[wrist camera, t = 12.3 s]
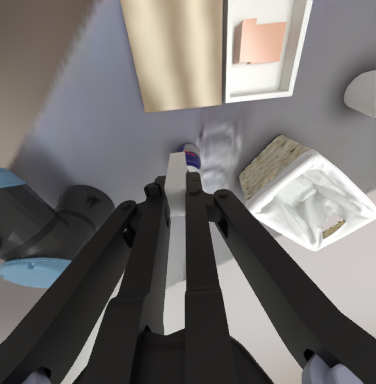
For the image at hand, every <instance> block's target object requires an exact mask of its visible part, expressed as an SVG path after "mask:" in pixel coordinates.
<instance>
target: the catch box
mask: <svg viewBox="0 0 376 384" xmlns="http://www.w3.org/2000/svg"><path fill="white" fill-rule="evenodd" d="M312 2H313V0H223V50H222V101H224V102H225V103H230V102H239V101H249V100H258V99H267V98H276V97H286V96H292V93H293V88H294V84H295V79H296V74H297V70H298V65H299V61H300V56H301V52H302V47H303V43H304V38H305V34H306V29H307V25H308V20H309V16H310V11H311V7H312ZM252 18H257V23H256V25H259V24H268V23H278V22H287V24H286V29H285V35H284V40H283V45H282V51H281V56H280V61H279V62H270V63H260V64H249V65H247V63H242V64H233V56H234V40H235V27H236V26H237V25H238V24H239V23H240V22H241V21H242V20H243V19H252Z"/></svg>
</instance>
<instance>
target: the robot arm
mask: <svg viewBox="0 0 376 384" xmlns="http://www.w3.org/2000/svg"><path fill="white" fill-rule="evenodd" d="M144 191H145V194H146V197H147V198H146V201H144V202H142V203H139V204H136V202H135V201H133V200H128V201H124V202H123V203H121V204H120V205H119V206H118V207H117V208H116V209H115V208H114V205H113V203H112V201H111V200H110V198H109V197H108V196H107V195H105V194H104V193H103V192H101V191H100V190H98V189H95V188H93V187H89V186H84V185H77V186H73V187H70V188H68V189H67V190H66V191H65V192H64V193H63V194H62V195H61V196H60V198H59V201H58V205H57V207H56V209H55V210H54V209H52V208H51V207H50V206H49V205H48V204H47V203H46V202H45V201H44V200H43V199H42V198H41V197H39V196H38V195H37V194H36V193H35V192H34V191H33V190H32V189H31V188H30V187H29V186H28V185H27V183H26V182H23V181H22V180H21V179H19V178H18V177H17V176H16V175H15V174H13V173H12V172H11V171H10V170H8V169H5V168H0V259H2V260H3V261H4V262H3V263H2V264H1V265H0V275H1V277H2V278H4V279H6V280H8V281H10V282H13V283H16V284H19V285H23V286H29V287H37V288H49V289H48V290H47V291H46V292H45V294H44V295H43V296H42V297H41V298H40V299H39V301H38V302H37V303H36V304H35V305H34V307H33V308H32V309H31V310H30V311H29V313H28V314H27V315H26V316H25V317H24V318H23V320H22V321H21V322H20V323H19V324H18V326H17V327H16V328H15V329H14V330H13V332H12V333H11V334H10V335H9V336H8V337H7V339H6V340H4V341H3V342H2V343H1V344H0V384H60V383H61V382H62V381H63V379H64V378H65V376H66V375H67V373H68V371H69V370H70V368H71V367H72V366H73V364H74V362H75V360H76V359H77V357H78V355H79V354H80V352H81V350H82V348H83V346H84V345H85V343H86V341H87V339H88V337H89V335H90V334H91V332H92V330H93V328H94V326H95V324H96V322H97V320H98V319H99V317H100V315H101V313H102V311H103V309H104V308H105V306H106V304H107V302H108V300H109V298H110V296H111V295H112V293H113V291H114V289H115V287H116V285H117V283H118V282H119V280H120V278H121V276H122V274H123V272H124V270H125V272H124V276H123V279H122V282H121V286H120V289H119V292H118V295H117V296H116V297H114V298H112V299H111V300H110V301H109V303H108V305H107V308H106V310H105V313H104V317H103V319H102V322H101V325H100V328H99V331H98V334H97V337H96V340H95V344H94V346H93V349H92V353H91V355H90V358H89V361H88V364H87V366H86V367H85V368H84V370H83V371H82V372H81V373H80V375H79V376H78V377H77V378H76V380H75V381H74V382H73V383H72V384H274V383H273V381H272V380H271V379H270V378H269V377H268V375H267V374H266V373H265V372H264V370H263V369H262V368H261V367H260V365H259V364H258V363H257V362H256V360H255V359H254V358H253V357H252V356H251V354H250V353H249V352H248V351H247V350H246V348H245V347H244V346H242V344H241V343H239V342H238V341H237V340H235V339H234V338H233V337H231V336H230V335H229V329H228V324H227V318H226V313H225V307H224V301H223V296H222V292H221V288H220V285H219V279H218V274H217V268H216V262H215V256H214V250H213V245H212V239H211V233H210V227H209V222H208V221H210V222H215V225H216V227H217V228H218V230H219V232H220V233H221V235H222V237H223V239H224V240H225V242H226V244H227V246H228V247H229V249H230V251H231V253H232V254H233V256H234V258H235V260H236V261H237V263H238V265H239V266H240V268H241V270H242V272H243V273H244V275H245V277H246V279H247V280H248V282H249V284H250V286H251V287H252V289H253V291H254V293H255V294H256V296H257V298H258V299H259V301H260V303H261V305H262V306H263V308H264V310H265V311H266V313H267V315H268V317H269V319H270V320H271V322H272V324H273V326H274V327H275V329H276V331H277V332H278V334H279V336H280V337H281V339H282V341H283V342H284V344H285V345H286V347H287V349H288V350H289V352H290V353H291V354H292V356H293V357H294V358H295V360H296V361H297V362H298V364H299V365H300V366H301V368H302V369H303V372H302V384H376V339H375V338H374V337H373V336H371V335H370V334H369V333H367V332H366V331H365V330H363V329H362V328H361V327H359V326H358V325H357V324H356V323H354V322H353V321H352V320H350V319H349V318H348V317H346V316H345V315H344V314H342V313H341V312H340V311H339V310H338V309H337V308H336V306H335V305H334V304H333V303H332V302H331V301H330V300H329V299H328V298H327V297H326V296H325V294H324V293H323V292H322V291H321V290H320V289H319V288H318V287H317V285H316V284H315V283H314V282H313V281H312V280H311V279H310V278H309V277H308V276H307V274H306V273H305V272H304V271H303V270H302V269H301V268H300V267H299V266H298V264H297V263H296V262H295V261H294V260H293V259H292V258H291V257H290V256H289V255H288V253H286V251H285V250H284V249H283V248H282V247H281V246H280V245H279V244H278V242H277V241H276V240H275V239H274V238H273V237H272V236H271V235H270V234H269V232H268V231H267V230H266V229H265V228H264V227H263V226H262V225H261V224H260V222H259V221H258V220H257V219H256V218H255V217H254V216H253V215H252V214H251V213H250V211H249V210H248V209H247V208H246V207H245V206H244V205H243V204H242V203H241V201H240V200H239V199H238V198H237V197H236V196H235V195H234V194H233V193H232V192H231V191H230V190H227V189H221V190H217V191H216V192H214V194H208V193H205V192H204V191H203V189H202V184H201V179H200V174H199V173H198V172H197V171H196V172H188V173H187V165H186V158H185V152H178V153H170V157H169V163H168V169H167V175H166V176H158V177H157V178H156V179H155V182H154V183H150V184H148V185H146V186H145V187H144ZM170 215H171V217H175V216H185V219H186V292H185V328H184V329H182V330H179V331H177V332H174V333H172V334H170V335H164V325H163V311H164V298H165V287H166V274H167V262H168V250H169V237H170V225H171V220H170ZM125 229H126V231H125ZM124 231H125V232H124Z"/></svg>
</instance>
